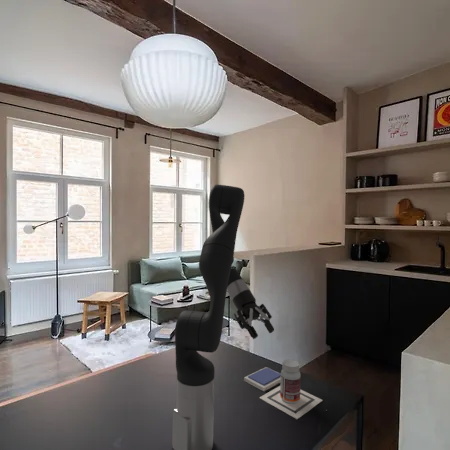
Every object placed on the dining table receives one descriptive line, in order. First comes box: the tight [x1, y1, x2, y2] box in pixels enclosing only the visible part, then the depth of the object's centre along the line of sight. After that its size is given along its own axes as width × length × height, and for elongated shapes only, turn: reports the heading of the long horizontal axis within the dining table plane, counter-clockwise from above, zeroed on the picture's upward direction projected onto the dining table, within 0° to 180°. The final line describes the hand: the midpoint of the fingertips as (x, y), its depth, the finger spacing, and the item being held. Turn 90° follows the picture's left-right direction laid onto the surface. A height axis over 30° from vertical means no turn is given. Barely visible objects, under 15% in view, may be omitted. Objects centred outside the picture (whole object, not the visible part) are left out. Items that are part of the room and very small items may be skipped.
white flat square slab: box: [258, 385, 323, 420], centre depth 98 cm, size 14×14×1 cm
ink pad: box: [243, 366, 281, 392], centre depth 109 cm, size 12×9×2 cm
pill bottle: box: [279, 359, 302, 403], centre depth 98 cm, size 6×6×11 cm
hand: (264, 334), depth 106 cm, fingers open, 8 cm apart
